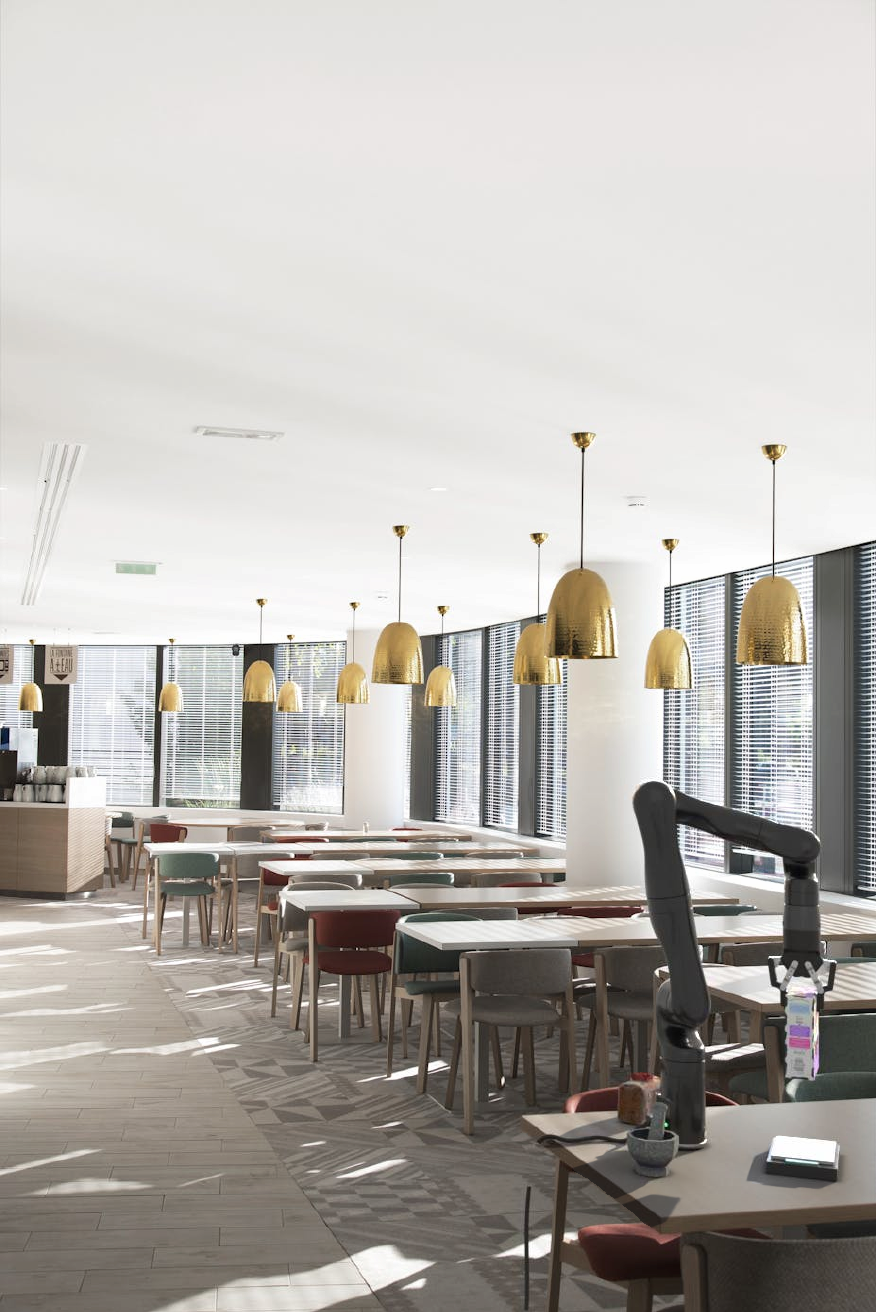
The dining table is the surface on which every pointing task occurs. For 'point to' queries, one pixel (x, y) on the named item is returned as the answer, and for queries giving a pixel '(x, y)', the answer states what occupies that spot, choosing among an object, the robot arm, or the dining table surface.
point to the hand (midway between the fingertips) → (802, 1010)
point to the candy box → (801, 1034)
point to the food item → (637, 1098)
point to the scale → (804, 1158)
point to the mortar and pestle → (653, 1145)
